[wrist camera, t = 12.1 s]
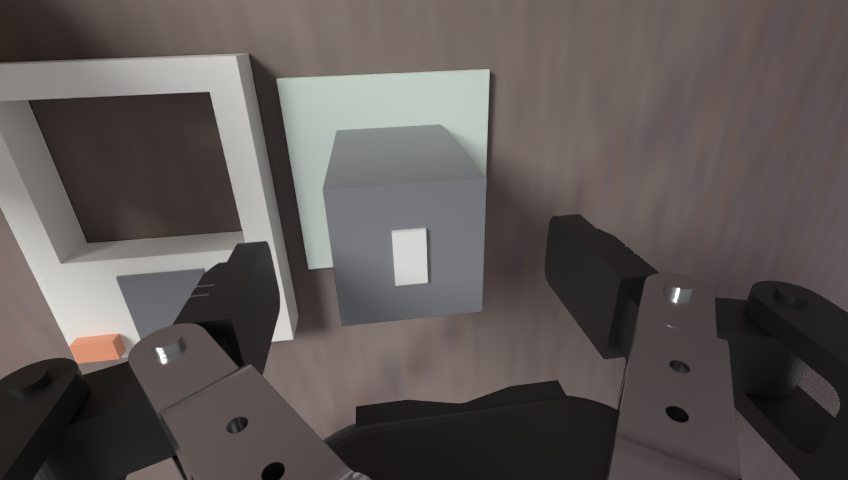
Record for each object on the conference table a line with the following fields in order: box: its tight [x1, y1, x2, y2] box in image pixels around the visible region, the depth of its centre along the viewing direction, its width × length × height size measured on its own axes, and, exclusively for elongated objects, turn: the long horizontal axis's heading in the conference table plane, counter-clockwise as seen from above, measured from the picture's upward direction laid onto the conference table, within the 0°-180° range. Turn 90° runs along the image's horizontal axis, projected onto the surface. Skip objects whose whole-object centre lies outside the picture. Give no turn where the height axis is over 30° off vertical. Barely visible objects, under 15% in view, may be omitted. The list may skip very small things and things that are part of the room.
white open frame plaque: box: [0, 53, 299, 363], centre depth 20 cm, size 18×10×3 cm, turn 2°
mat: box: [276, 69, 490, 269], centre depth 20 cm, size 9×9×1 cm
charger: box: [323, 124, 487, 326], centre depth 17 cm, size 5×5×8 cm
